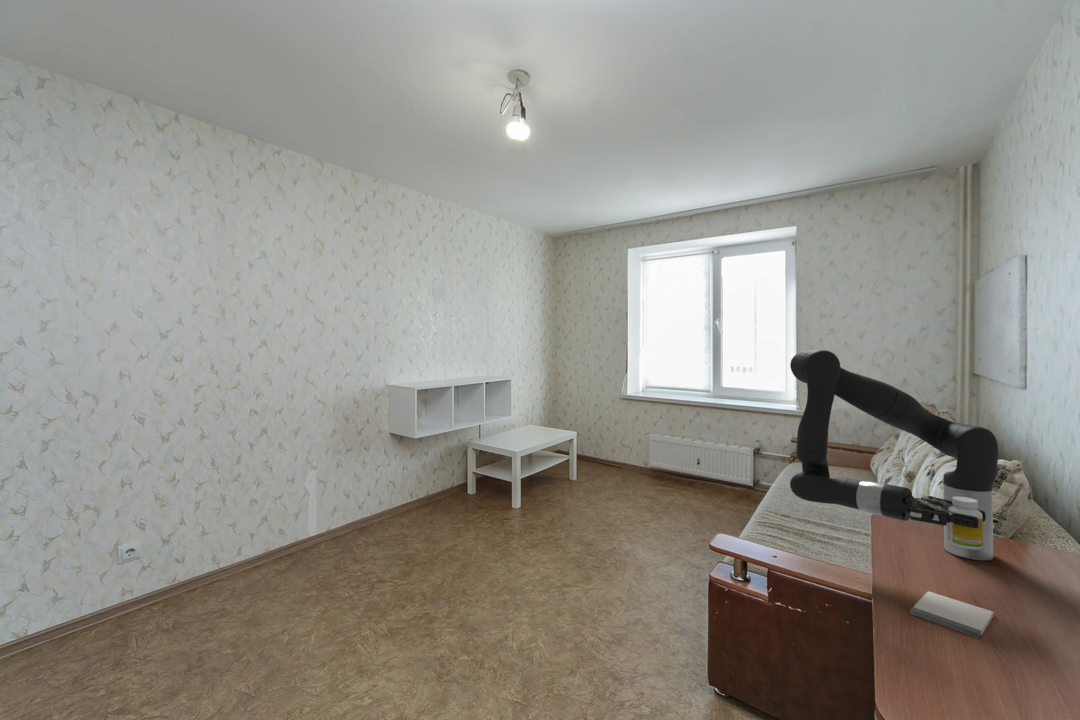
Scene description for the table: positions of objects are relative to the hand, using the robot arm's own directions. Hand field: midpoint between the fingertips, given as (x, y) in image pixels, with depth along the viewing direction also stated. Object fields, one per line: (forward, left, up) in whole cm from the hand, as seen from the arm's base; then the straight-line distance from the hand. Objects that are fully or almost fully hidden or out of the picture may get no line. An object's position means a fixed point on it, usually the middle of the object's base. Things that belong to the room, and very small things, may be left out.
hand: (981, 519), depth 94 cm
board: (+11, -3, -17) cm, 21 cm away
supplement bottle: (0, -3, -6) cm, 7 cm away
